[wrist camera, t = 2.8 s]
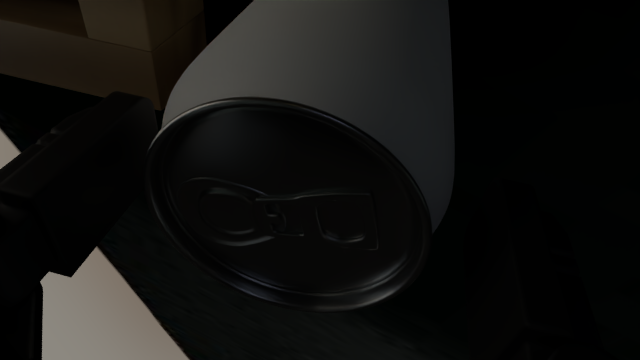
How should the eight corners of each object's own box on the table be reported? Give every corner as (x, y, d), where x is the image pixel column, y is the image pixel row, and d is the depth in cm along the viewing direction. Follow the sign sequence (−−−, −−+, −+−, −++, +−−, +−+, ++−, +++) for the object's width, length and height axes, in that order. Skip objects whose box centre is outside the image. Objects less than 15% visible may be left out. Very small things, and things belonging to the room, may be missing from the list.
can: (271, -65, 16) (50, 84, 7) (451, -95, 14) (469, 57, 5) (304, 89, 20) (193, 309, 11) (446, 82, 18) (452, 338, 9)
